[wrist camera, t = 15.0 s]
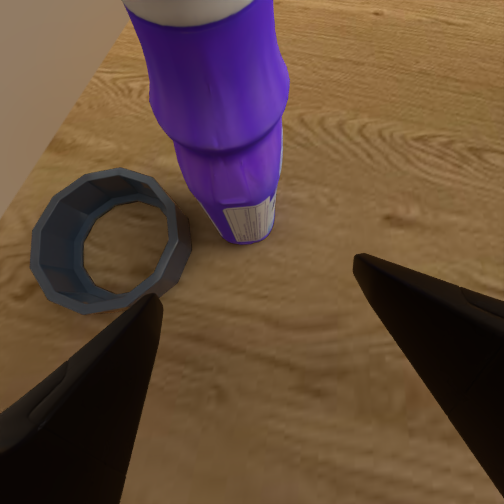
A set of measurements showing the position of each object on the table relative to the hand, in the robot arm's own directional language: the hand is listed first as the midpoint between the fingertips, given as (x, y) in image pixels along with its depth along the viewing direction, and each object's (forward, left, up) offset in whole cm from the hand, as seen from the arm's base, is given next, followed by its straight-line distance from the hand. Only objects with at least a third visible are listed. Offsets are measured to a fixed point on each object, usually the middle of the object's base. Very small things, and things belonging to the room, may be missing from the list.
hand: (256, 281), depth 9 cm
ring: (+14, 0, -10) cm, 17 cm away
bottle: (+4, -7, -10) cm, 13 cm away
